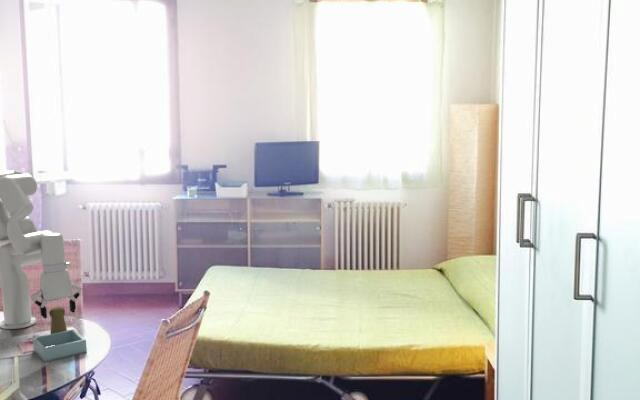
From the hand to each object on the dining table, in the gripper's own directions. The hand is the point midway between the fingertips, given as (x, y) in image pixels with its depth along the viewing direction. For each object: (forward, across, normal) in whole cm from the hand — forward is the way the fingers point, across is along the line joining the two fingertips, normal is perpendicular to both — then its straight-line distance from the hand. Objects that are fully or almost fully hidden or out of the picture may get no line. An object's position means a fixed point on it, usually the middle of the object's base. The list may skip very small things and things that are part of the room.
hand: (58, 314), depth 239 cm
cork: (+9, 0, -1) cm, 9 cm away
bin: (+9, +4, +14) cm, 17 cm away
